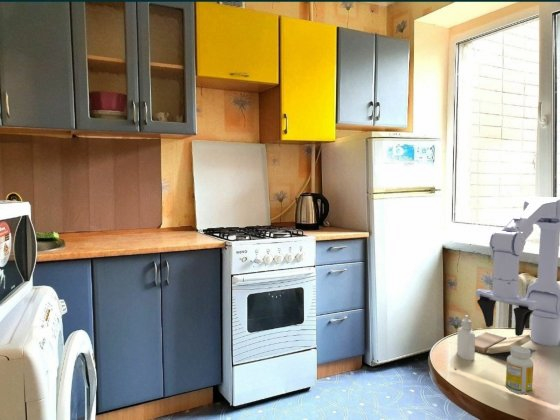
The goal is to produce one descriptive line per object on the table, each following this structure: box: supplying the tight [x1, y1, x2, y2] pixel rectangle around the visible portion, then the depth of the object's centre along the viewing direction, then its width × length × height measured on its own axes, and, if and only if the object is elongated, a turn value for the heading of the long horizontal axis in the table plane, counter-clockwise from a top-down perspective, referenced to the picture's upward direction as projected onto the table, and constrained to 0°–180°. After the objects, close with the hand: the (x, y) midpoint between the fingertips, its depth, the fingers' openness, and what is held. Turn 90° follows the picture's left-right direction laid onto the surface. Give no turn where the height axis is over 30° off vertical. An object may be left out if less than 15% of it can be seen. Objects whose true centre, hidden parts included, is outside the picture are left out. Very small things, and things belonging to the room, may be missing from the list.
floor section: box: [475, 331, 536, 362], centre depth 119 cm, size 14×14×2 cm
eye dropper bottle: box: [456, 314, 476, 361], centre depth 114 cm, size 4×6×12 cm
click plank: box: [486, 334, 532, 355], centre depth 117 cm, size 13×7×2 cm, turn 128°
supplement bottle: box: [505, 346, 534, 396], centre depth 97 cm, size 5×5×10 cm
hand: (503, 330), depth 108 cm, fingers open, 7 cm apart
